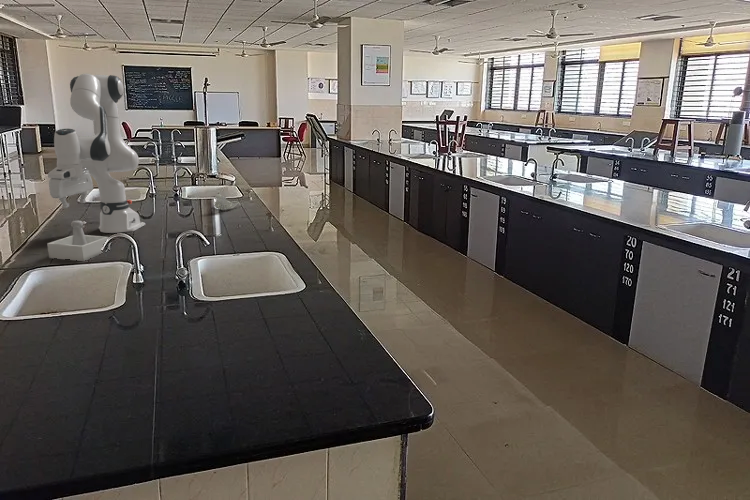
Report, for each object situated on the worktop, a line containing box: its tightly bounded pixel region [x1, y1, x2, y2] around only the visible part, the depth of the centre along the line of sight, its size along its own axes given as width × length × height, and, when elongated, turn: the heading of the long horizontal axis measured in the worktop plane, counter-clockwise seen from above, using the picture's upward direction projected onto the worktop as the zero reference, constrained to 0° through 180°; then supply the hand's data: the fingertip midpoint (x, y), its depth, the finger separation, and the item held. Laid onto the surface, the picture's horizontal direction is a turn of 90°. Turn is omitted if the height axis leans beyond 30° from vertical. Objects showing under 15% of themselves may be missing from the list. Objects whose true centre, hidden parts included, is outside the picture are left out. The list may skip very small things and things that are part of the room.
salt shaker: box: [70, 220, 87, 246], centre depth 236 cm, size 6×6×13 cm
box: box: [46, 234, 111, 262], centre depth 237 cm, size 16×16×6 cm
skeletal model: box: [212, 190, 242, 211], centre depth 329 cm, size 16×9×25 cm
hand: (74, 205), depth 233 cm, fingers open, 8 cm apart
